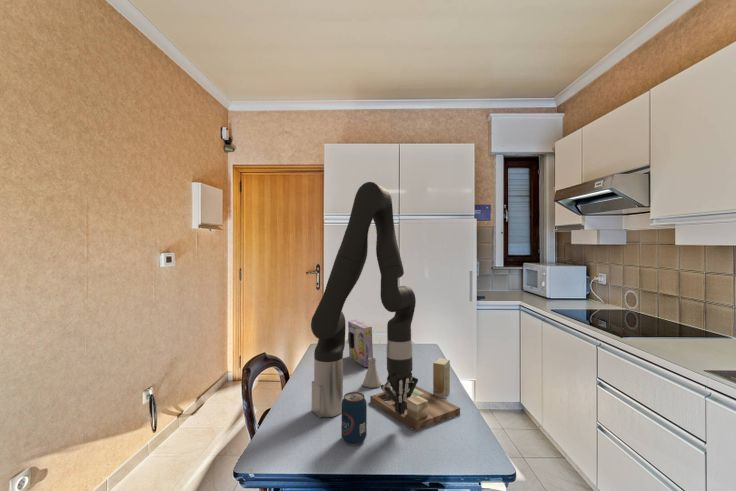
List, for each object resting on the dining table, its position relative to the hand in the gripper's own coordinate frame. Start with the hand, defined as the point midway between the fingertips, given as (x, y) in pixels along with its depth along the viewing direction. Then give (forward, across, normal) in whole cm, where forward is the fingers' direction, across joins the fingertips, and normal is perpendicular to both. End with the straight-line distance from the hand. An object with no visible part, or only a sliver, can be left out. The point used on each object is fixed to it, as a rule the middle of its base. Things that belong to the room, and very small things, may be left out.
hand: (400, 413), depth 105 cm
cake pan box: (+4, +23, +57) cm, 61 cm away
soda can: (+4, -15, +2) cm, 15 cm away
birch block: (+2, +7, 0) cm, 7 cm away
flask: (+4, +12, +31) cm, 33 cm away
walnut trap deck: (+4, +12, +7) cm, 15 cm away
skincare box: (+5, +27, +9) cm, 29 cm away
